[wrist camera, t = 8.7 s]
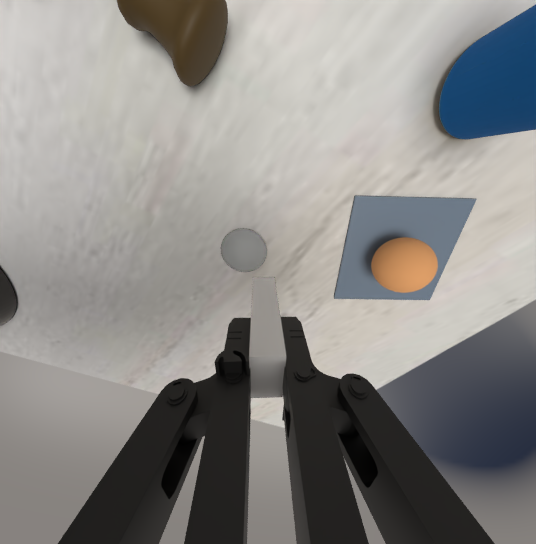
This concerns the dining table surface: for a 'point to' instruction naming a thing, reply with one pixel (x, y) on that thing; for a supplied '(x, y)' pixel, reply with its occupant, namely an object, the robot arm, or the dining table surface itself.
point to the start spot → (243, 250)
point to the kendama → (182, 31)
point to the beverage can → (493, 83)
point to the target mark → (396, 224)
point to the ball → (404, 265)
